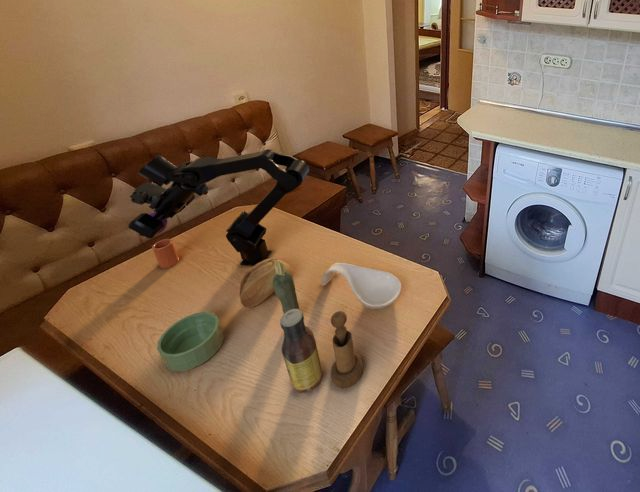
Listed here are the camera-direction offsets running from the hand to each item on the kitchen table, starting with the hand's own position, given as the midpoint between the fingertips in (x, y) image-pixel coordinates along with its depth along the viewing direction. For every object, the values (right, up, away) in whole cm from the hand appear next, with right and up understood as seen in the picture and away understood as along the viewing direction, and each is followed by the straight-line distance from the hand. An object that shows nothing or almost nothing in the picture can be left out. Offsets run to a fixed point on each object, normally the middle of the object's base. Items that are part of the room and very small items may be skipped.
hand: (149, 228), depth 102 cm
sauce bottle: (+57, -27, -25) cm, 68 cm away
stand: (+1, -12, +6) cm, 13 cm away
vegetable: (+48, -21, -13) cm, 53 cm away
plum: (+1, +1, 0) cm, 2 cm away
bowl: (+28, -23, -20) cm, 42 cm away
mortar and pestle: (+65, -26, -24) cm, 74 cm away
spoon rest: (+62, -17, -3) cm, 65 cm away
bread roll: (+36, -17, -3) cm, 40 cm away
